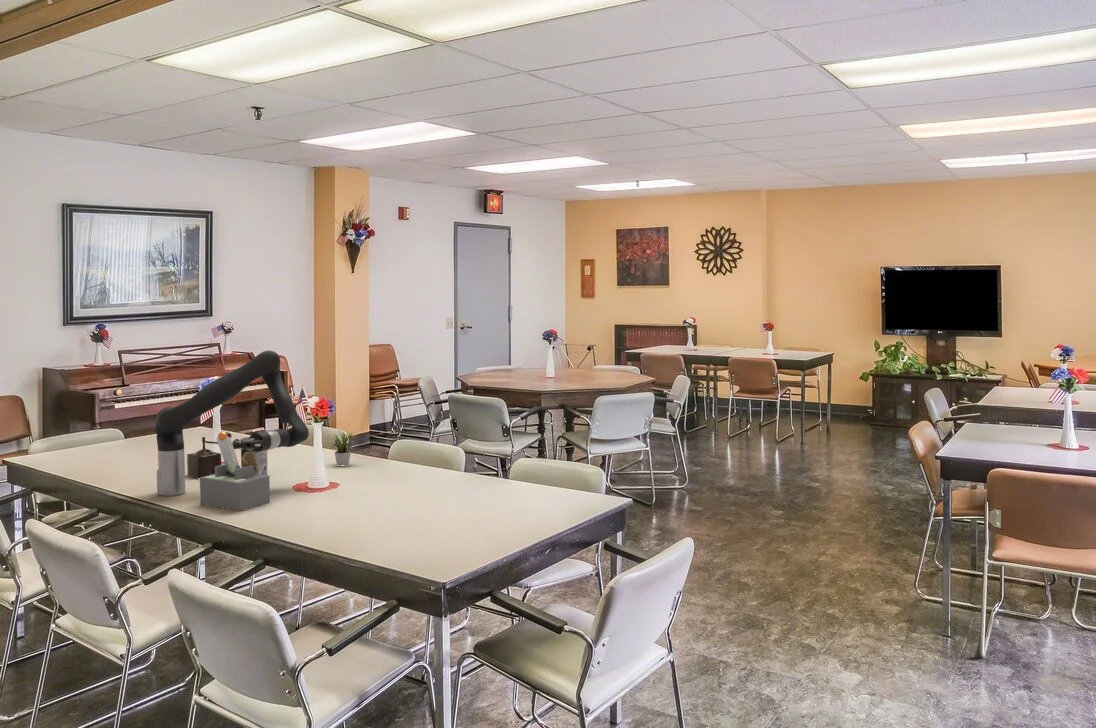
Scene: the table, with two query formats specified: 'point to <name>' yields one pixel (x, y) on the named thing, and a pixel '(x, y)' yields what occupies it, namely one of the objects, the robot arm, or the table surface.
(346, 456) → the house plant
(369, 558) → the table surface
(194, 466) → the manual coffee grinder
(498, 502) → the table surface
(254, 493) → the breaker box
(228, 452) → the lever
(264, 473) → the coffee box
